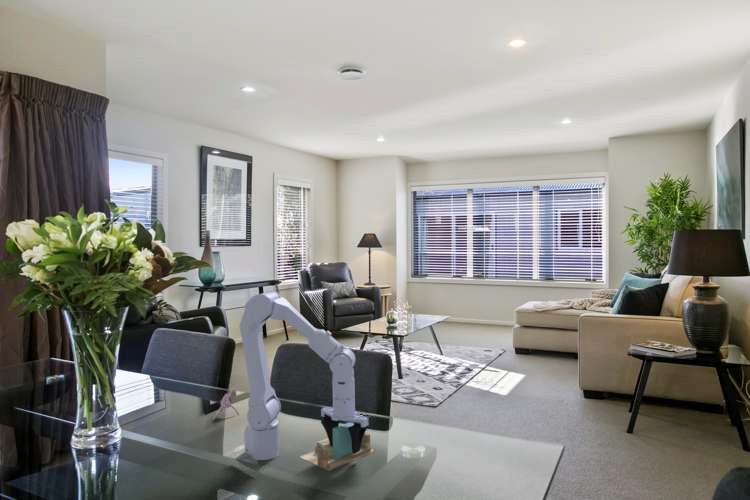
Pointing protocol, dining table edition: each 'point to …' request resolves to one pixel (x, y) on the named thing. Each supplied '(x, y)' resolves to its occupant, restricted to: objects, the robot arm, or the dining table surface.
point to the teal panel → (342, 441)
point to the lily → (226, 403)
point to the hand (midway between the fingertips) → (344, 448)
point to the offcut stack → (324, 446)
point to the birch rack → (329, 463)
